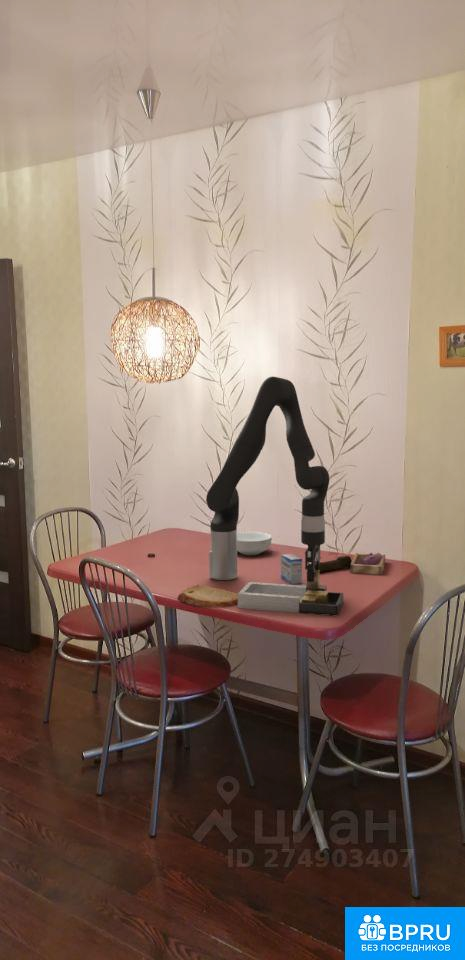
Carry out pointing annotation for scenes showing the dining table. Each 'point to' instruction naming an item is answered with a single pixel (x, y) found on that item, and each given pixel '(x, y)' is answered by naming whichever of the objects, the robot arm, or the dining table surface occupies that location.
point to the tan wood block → (309, 599)
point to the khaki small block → (311, 593)
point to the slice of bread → (208, 597)
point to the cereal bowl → (253, 542)
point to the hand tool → (335, 564)
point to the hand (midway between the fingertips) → (313, 577)
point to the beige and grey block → (315, 583)
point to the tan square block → (322, 597)
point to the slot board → (285, 599)
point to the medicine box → (291, 568)
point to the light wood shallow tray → (366, 568)
